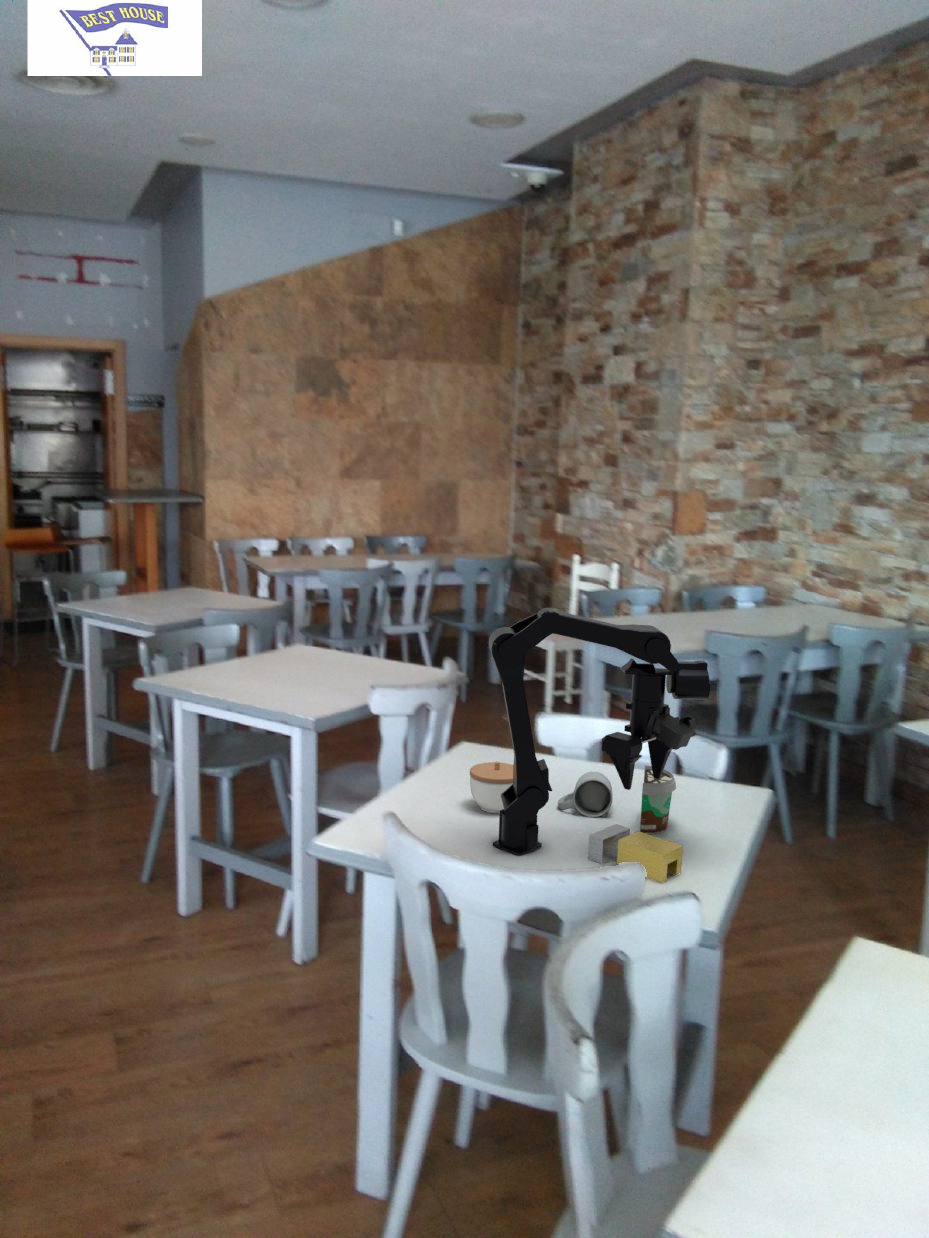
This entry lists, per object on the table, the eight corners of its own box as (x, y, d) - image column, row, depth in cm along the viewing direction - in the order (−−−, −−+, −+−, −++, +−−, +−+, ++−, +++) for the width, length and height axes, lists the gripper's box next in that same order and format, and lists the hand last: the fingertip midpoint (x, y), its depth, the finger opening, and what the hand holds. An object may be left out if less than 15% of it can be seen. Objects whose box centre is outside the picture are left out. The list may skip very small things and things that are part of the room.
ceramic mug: (611, 804, 211) (612, 767, 209) (611, 818, 203) (613, 780, 201) (558, 801, 212) (559, 765, 211) (556, 815, 204) (557, 777, 203)
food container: (673, 839, 193) (676, 787, 192) (639, 835, 194) (642, 783, 193) (673, 816, 205) (677, 767, 203) (641, 813, 206) (644, 764, 205)
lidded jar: (493, 795, 214) (495, 750, 213) (534, 808, 207) (536, 763, 205) (457, 807, 206) (458, 761, 205) (497, 821, 199) (499, 774, 198)
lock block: (616, 867, 180) (618, 839, 179) (636, 858, 184) (638, 831, 183) (661, 883, 174) (663, 854, 173) (681, 873, 178) (683, 845, 177)
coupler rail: (587, 858, 183) (589, 834, 182) (614, 847, 188) (616, 823, 188) (638, 877, 175) (639, 852, 175) (664, 864, 181) (666, 840, 180)
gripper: (656, 716, 172) (650, 807, 174) (716, 698, 185) (709, 783, 188) (601, 703, 179) (596, 790, 182) (662, 687, 193) (657, 769, 195)
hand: (642, 783), depth 186 cm, fingers open, 9 cm apart
